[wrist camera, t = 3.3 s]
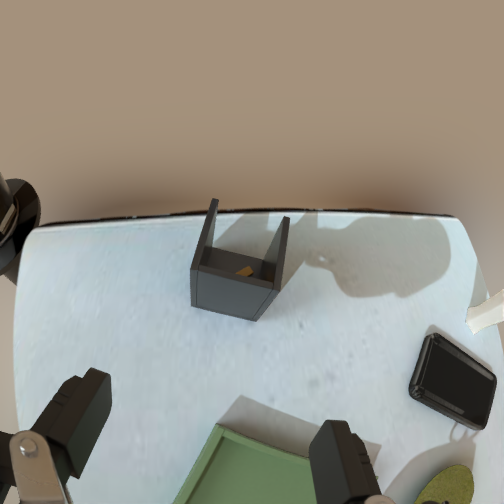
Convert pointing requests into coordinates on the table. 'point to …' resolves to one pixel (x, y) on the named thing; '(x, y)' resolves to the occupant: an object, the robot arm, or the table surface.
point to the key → (246, 271)
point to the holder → (234, 285)
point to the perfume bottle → (486, 313)
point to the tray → (246, 473)
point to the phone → (453, 383)
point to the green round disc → (449, 487)
